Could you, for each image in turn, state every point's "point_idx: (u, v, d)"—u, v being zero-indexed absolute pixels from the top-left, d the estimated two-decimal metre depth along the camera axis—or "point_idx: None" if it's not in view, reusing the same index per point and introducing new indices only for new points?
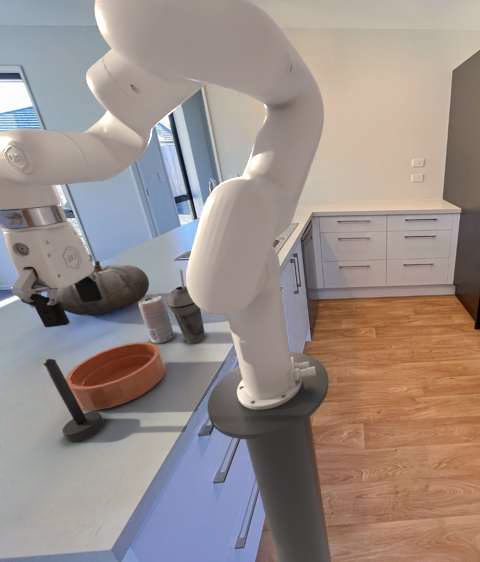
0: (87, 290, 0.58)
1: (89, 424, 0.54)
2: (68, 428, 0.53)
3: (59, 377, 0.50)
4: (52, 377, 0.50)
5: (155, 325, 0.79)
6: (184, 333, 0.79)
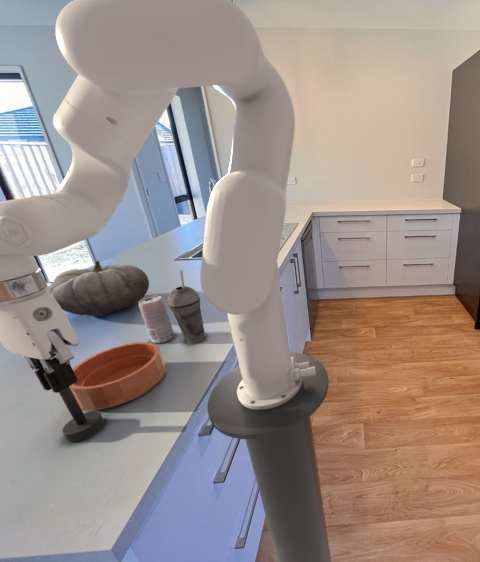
0: None
1: (89, 424, 0.54)
2: (68, 428, 0.53)
3: None
4: None
5: (155, 325, 0.79)
6: (184, 333, 0.79)
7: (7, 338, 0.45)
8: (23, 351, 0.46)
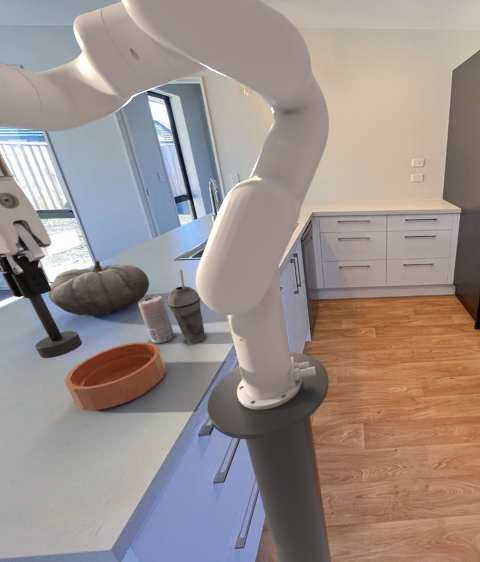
0: None
1: (64, 340, 0.50)
2: (42, 343, 0.50)
3: None
4: None
5: (155, 325, 0.79)
6: (184, 333, 0.79)
7: None
8: None
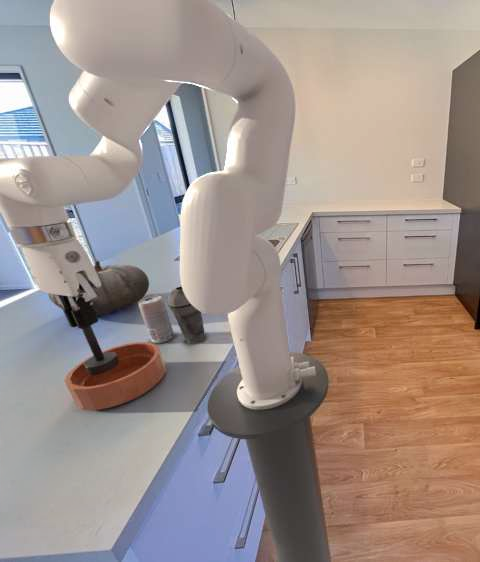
0: None
1: (106, 360, 0.62)
2: (89, 363, 0.62)
3: None
4: None
5: (155, 325, 0.79)
6: (184, 333, 0.79)
7: (42, 277, 0.54)
8: (55, 289, 0.54)
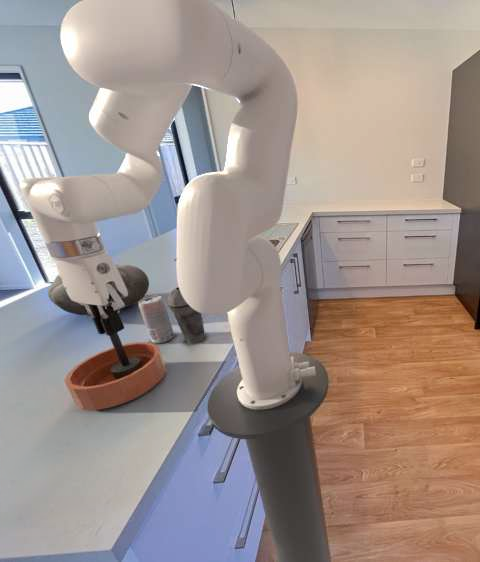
0: None
1: (132, 365, 0.66)
2: (115, 368, 0.65)
3: None
4: None
5: (155, 325, 0.79)
6: (184, 333, 0.79)
7: (74, 288, 0.57)
8: (86, 299, 0.57)
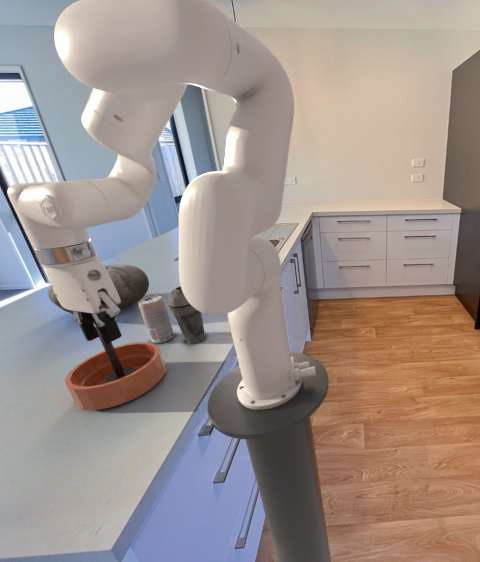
0: (94, 327, 0.61)
1: None
2: (110, 379, 0.64)
3: None
4: None
5: (155, 325, 0.79)
6: (184, 333, 0.79)
7: (65, 295, 0.56)
8: (77, 306, 0.56)
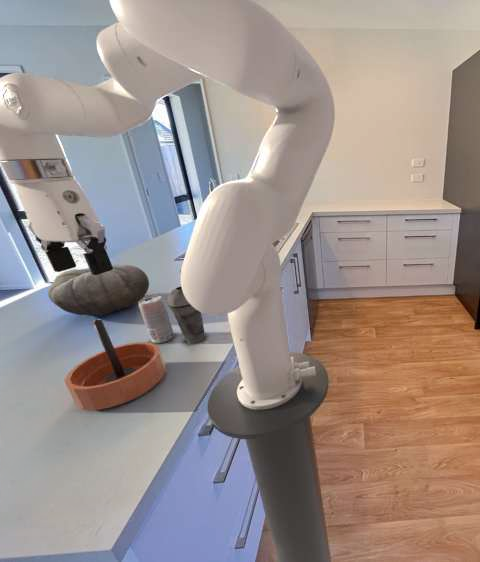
0: (63, 257, 0.56)
1: None
2: (110, 379, 0.64)
3: (105, 335, 0.61)
4: (99, 334, 0.60)
5: (155, 325, 0.79)
6: (184, 333, 0.79)
7: (39, 221, 0.50)
8: (53, 234, 0.50)
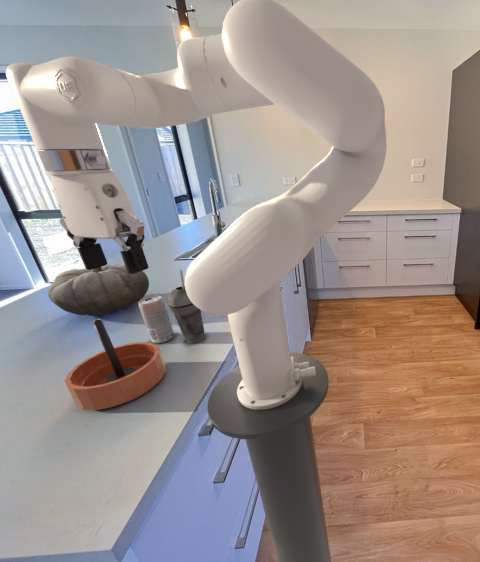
0: (95, 254, 0.52)
1: None
2: (110, 379, 0.64)
3: (105, 335, 0.61)
4: (99, 334, 0.60)
5: (155, 325, 0.79)
6: (184, 333, 0.79)
7: (75, 216, 0.47)
8: (89, 230, 0.47)
